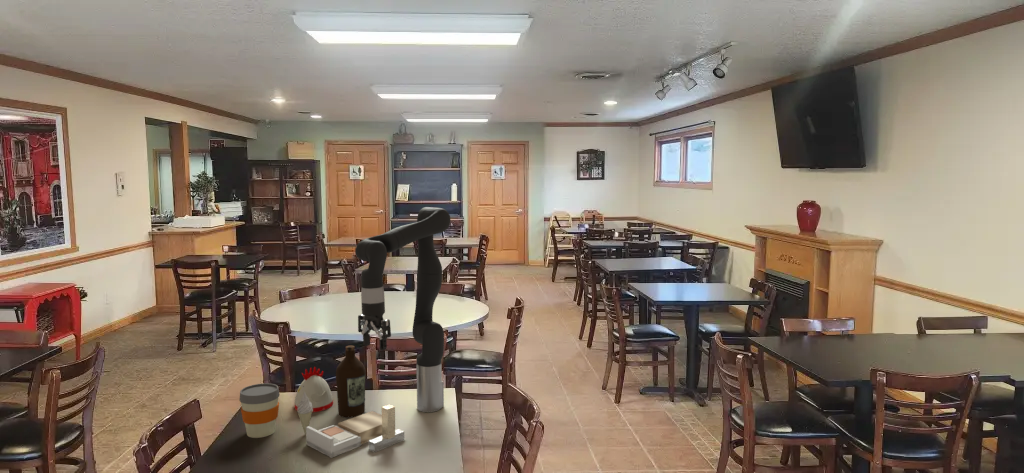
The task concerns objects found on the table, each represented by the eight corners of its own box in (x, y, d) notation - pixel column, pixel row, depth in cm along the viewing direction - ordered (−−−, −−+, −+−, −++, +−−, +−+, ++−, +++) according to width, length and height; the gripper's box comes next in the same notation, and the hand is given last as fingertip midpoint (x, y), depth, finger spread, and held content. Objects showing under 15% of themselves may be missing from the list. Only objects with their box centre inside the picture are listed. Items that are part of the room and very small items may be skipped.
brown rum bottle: (331, 412, 224) (329, 346, 222) (357, 405, 231) (355, 340, 229) (345, 421, 217) (344, 352, 214) (371, 413, 224) (370, 346, 221)
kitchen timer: (289, 404, 232) (288, 366, 231) (324, 396, 241) (323, 359, 239) (302, 415, 221) (301, 375, 220) (338, 406, 230) (337, 368, 229)
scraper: (368, 449, 194) (368, 410, 193) (398, 437, 203) (398, 399, 202) (376, 453, 192) (375, 413, 190) (406, 441, 201) (405, 402, 199)
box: (336, 433, 206) (335, 416, 205) (360, 445, 197) (360, 428, 196) (306, 444, 197) (306, 426, 197) (331, 457, 188) (330, 439, 188)
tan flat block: (372, 421, 216) (372, 411, 215) (393, 431, 208) (393, 419, 208) (338, 434, 205) (338, 423, 205) (359, 444, 197) (359, 432, 197)
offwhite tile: (344, 437, 200) (344, 431, 200) (353, 441, 197) (353, 435, 196) (331, 442, 196) (331, 436, 196) (340, 446, 193) (340, 440, 193)
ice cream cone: (297, 438, 202) (295, 394, 201) (298, 431, 207) (297, 389, 206) (313, 436, 204) (311, 393, 202) (314, 430, 208) (312, 387, 207)
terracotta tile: (335, 432, 203) (335, 426, 203) (344, 436, 200) (344, 430, 200) (322, 437, 200) (322, 431, 199) (331, 441, 196) (330, 435, 196)
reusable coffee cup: (266, 441, 200) (265, 397, 198) (232, 438, 202) (230, 394, 201) (288, 426, 212) (286, 384, 210) (255, 423, 214) (254, 381, 213)
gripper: (395, 300, 200) (397, 348, 202) (368, 295, 209) (370, 341, 211) (377, 305, 195) (379, 354, 197) (350, 299, 204) (352, 346, 205)
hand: (374, 347), depth 204 cm, fingers open, 8 cm apart
